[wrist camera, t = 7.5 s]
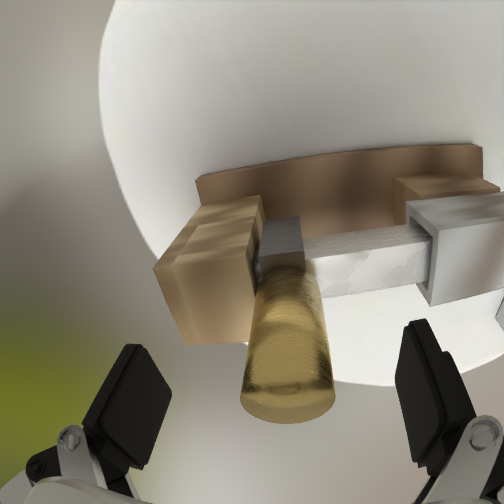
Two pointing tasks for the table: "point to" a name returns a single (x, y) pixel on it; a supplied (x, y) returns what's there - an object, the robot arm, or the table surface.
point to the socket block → (214, 272)
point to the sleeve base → (388, 205)
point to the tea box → (501, 315)
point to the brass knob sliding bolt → (315, 308)
